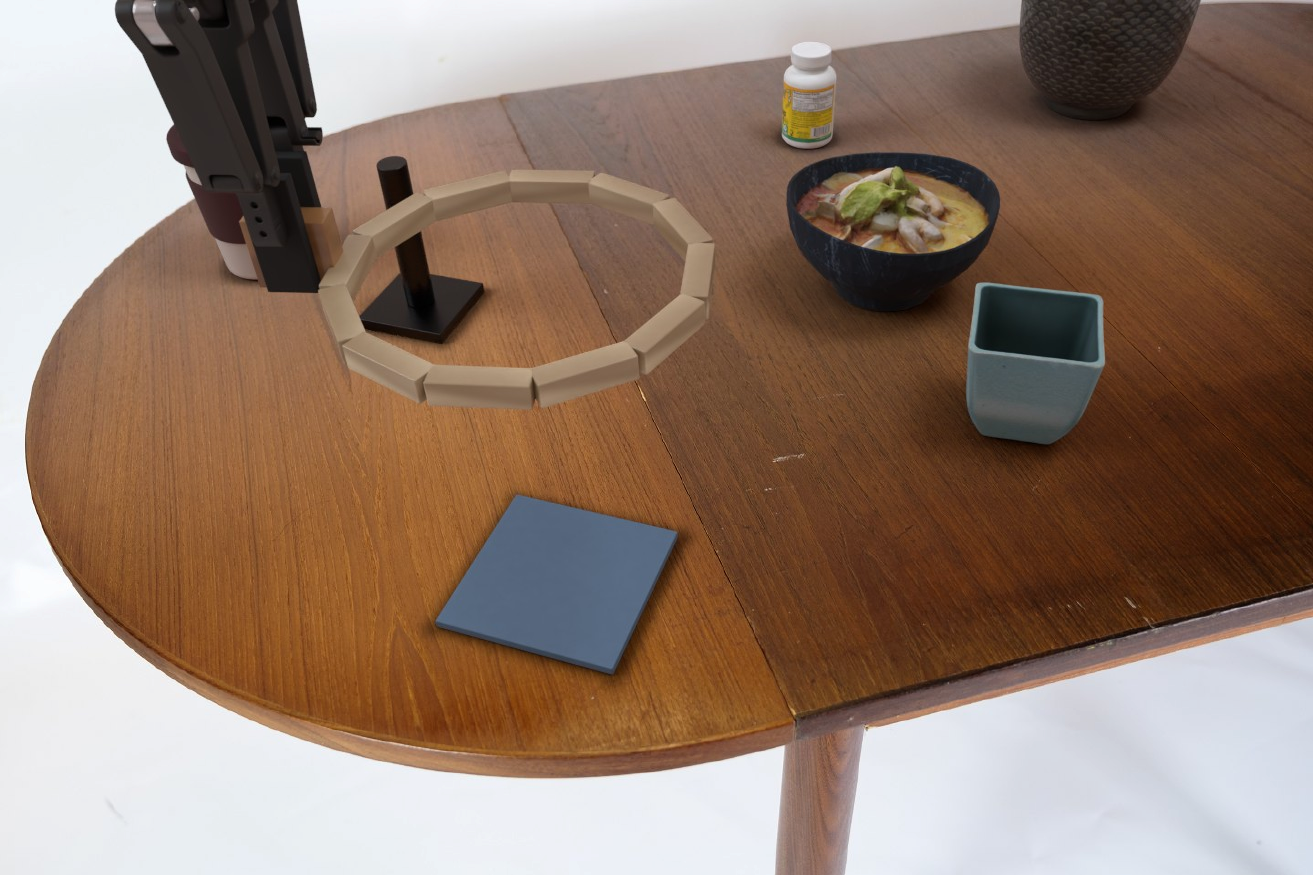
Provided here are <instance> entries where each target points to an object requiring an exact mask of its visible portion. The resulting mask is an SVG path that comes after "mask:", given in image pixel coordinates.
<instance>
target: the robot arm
mask: <svg viewBox="0 0 1313 875" xmlns="http://www.w3.org/2000/svg"><path fill="white" fill-rule="evenodd" d="M114 5H115V6H114V16H115V19H116V22H117V23H118V25H119V27H120V29H121V30H122V31H123V32H124V33H125V35H126V36H127V37H128V39H129V40H130V41H131V42H132V44H133V45H134V46H135V47H136V49H137V50H138V51H139V52H140V53H141V55H142V58H143V59H144V61H145V64H146V66H147V69H148V70H149V72H150V75H151V77H152V79H153V82H154V84H155V86H156V88H157V90H158V92H159V95H160V97H161V99H162V101H163V103H164V106H165V107H166V110H167V112H168V114H169V116H170V119H171V121H172V123H173V125H175V127H176V130H177V132H178V134H179V136H180V138H181V140H182V143H183V145H184V147H185V149H186V151H187V154H188V156H189V158H190V160H191V162H192V164H193V167H194V169H195V171H196V173H197V175H198V178H199V180H200V182H201V184H202V186H203V188H204V190H205V191H206V192H208V193H236V195H237V197H238V200H239V203H240V207H241V210H242V213H243V216H244V219H245V222H246V225H247V228H248V231H249V234H250V237H251V240H252V244H253V247H254V250H255V253H256V256H257V259H258V262H259V265H260V268H261V271H262V274H263V278H264V281H265V284H266V287H265V288H266V290H267V292H268V293H290V294H291V293H292V294H296V293H297V294H319V293H318V290H319V289H320V288H319V284H320V282H321V279H320V276H319V272H318V269H317V265H316V262H315V258H314V255H313V251H312V248H311V244H310V241H309V237H308V234H307V230H306V227H305V222H304V218H303V215H302V211H301V208H300V207H322V204H321V199H320V197H319V193H318V189H317V185H316V182H315V179H314V178H315V177H314V175H313V171H312V167H311V163H310V160H309V155H308V153H307V150H305V149H304V147H320V146H321V145H322V143H323V138H324V132H323V127H322V126H320V127H319V126H308V125H307V121H306V118H315V117H316V116H317V115H316V114H317V111H318V107H317V99H316V94H315V88H314V85H313V84H314V83H313V79H312V78H313V77H312V73H311V68H310V62H309V56H308V50H307V45H306V40H305V35H304V30H303V24H302V19H301V14H300V13H301V12H300V9H299V3H298V0H116V1H115V3H114Z"/></svg>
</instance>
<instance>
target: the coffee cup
mask: <svg viewBox="0 0 1313 875" xmlns="http://www.w3.org/2000/svg"><path fill="white" fill-rule="evenodd" d="M165 139H166V144H167V146H168V150H169V152H170V155H171V157H172V159H173V160H175V162H177V163H178V164H180V165H182V166H183V167H184V170H185V178H186V181H187V184H188V185H189V188H190V190H191V193H192V195H193V197H194V199H195V203H196V204H197V206H198V209H199V211H200V213H201V216H202V218H203V220H204V222H205V225H206V227H207V230H208V231H209V233H210V235H211V236H212V237H213V238H214V239H215V242H216V244H217V246H218V249H219V251H220V253H221V256H222V259H223V260H224V262H225V265H226V267H227V269H228V270H229V272H230V273H232V274H233V275H235V276H236V277H239V278H242V279H246V280H258V279H257V275H256V272H255V269H254V266H253V263H252V260H251V257H250V254H249V251H248V248H247V245H246V242H245V239H244V235H243V232H242V229H241V226H240V223H239V221H240V220H241V218H242V217H243V213H242V210H241V207H240V203H239V200H238V197H237V195H236V193H208V192H206V191H205V190H204V188H203V186H202V184H201V182H200V180H199V178H198V175H197V173H196V171H195V169H194V167H193V164H192V162H191V160H190V158H189V156H188V154H187V151H186V149H185V147H184V145H183V143H182V140H181V138H180V136H179V134H178V132H177V130H176V127H175V125H174V124H172V126H170V128H169V130H168V131H167V134H166V138H165Z"/></svg>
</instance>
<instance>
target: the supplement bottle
mask: <svg viewBox="0 0 1313 875" xmlns="http://www.w3.org/2000/svg"><path fill="white" fill-rule="evenodd" d="M832 51H833V50H832V48H831V46H829V45H828V44H826V43H823V42H819V41H803V42H799V43H796V44H794V45H793V46H792V47H791V52H790V62H791V65H790V66H788V67H787V68H786V70H785V72H784V74H783V85H782V86H783V87H782V88H783V90H782V115H781V137H782V139H783V140H784V141H785V143H787V144H788V145H789V146H792V147H794V148H798V149H804V150H805V149H807V150H810V149H817V148H821V147H824V146H826V145H828V144H829V143H830V142H831V140H832V139H833V134H834V121H835V120H834V119H835V108H836V106H835V105H836V92H837V73H836V71H835V69H834V68H833V67H832V66H831V65H830V64H831V63H832Z"/></svg>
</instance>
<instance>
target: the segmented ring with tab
mask: <svg viewBox="0 0 1313 875" xmlns="http://www.w3.org/2000/svg"><path fill="white" fill-rule="evenodd" d="M422 192H423V194H422V193H420V192H415V193H414V194H413V195H411V196H410V197H408V198H406V199H405V200H403V201H401V202H400V203H398V204H396V205H395V206H393V207H391V208H389V209H388V210H386V209H385V211H383V212H381V213H379V214H377V215H375V216H374V217H373V218H371V219H369V220H368V221H366V222H364V223H363V224H361V225H359V226H358V227H356V228H354V229H352V234H348V235H347V236H346V238H345V239H344V241H343V242H342V239H341V236H340V232H339V229H338V224H337V222H336V221H337V220H336V217H335V214H334V209H333V207H325V206H324V207H322V206H321V207H300V208H301V211H302V215H303V218H304V222H305V227H306V230H307V234H308V237H309V241H310V244H311V248H312V251H313V255H314V258H315V262H316V265H317V269H318V272H319V276H320V279H321V282H320V284H319V288H320V289H319V290H318V293H317V294H318V296H319V300H320V303H321V308H322V310H323V313H324V317H325V318H326V321H327V324H328V327H329V329H330V331H331V332H330V333H331V334H332V337H333V340H334V342H335V346H336V347H337V350H338V353H339V356H340V358H341V360H342V363H343V364H344V365H346V366H347V369H348V370H350V371H352V372H354V373H357V374H359V375H361V376H363V377H365V378H367V379H369V380H370V381H373V382H375V383H377V384H379V385H381V386H383V387H385V388H387V389H389V390H391V391H393V392H395V393H397V394H399V395H401V396H402V397H405V398H407V399H409V400H411V401H413V402H415V403H417V404H419V405H422V404H423V403H424V402H425V401H426V402H427V405H428V406H429V407H444V408H445V407H448V408H471V409H472V408H475V409H498V410H499V409H500V410H521V411H532V410H533V408H534V406H535V402H537V404H538V406H539V407H540V408H541V409H545V408H548V407H552V406H555V405H559V404H561V403H566V402H568V401H571V400H574V399H578V398H582V397H585V396H587V395H591V394H595V393H598V392H601V391H604V390H608V389H611V388H615V387H617V386H621V385H624V384H628V383H630V382H635V381H637V380H639V379H640V373H641V374H643V375H645V376H646V375H649V374H650V373H651V372H652V371H653V370H655V368H657V367H658V366H659V365H661V363H662V362H664V360H666V359H667V358H668V357H669V356H670V355H672V354H673V353H674V352H675V351H676V350H677V349H678V348H679V347H680V346H682V345H683V344H684V343H685V342H687V340H689V339H690V338H691V337H692V336H693V335H694V334H696V333H697V332H698V331H699V330H700V329H701V328H703V326H705V324H706V320H709V317H710V309H711V302H712V293H713V285H714V277H715V270H716V244H715V242H714V238H713V237H712V236H711V235H710V234H709V233H708V232H707V231H706V229H704V227H703V226H702V225H701V224H700V223H699V222H698V221H697V219H695V218H694V217H693V216H692V215H691V214H690V213H689V211H688V210H687V209H686V208H685V207H684V206H683V205H682V203H680V202H679V200H678V199H677V198H676V197H670V194H668V193H665V192H662V191H659V190H656V189H653V188H650V187H646V186H643V185H641V184H638V183H636V182H632V181H628V180H627V179H623V178H620V177H617V176H614V175H611V174H608V173H605V172H599V173H598V174H596V172H595V170H570V169H565V170H564V169H510V172H509V175H508V173H507V171H506V170H500V171H496V172H491V173H488V174H484V175H479V176H475V177H471V178H467V179H463V180H459V181H455V182H450V183H446V184H442V185H439V186H434V187H430V188H425V189H423V190H422ZM511 203H519V204H520V203H522V204H524V203H526V204H565V205H566V204H570V205H571V204H572V205H577V204H578V205H592V206H595V207H597V208H602V209H604V210H607V211H610V212H613V213H616V214H619V215H621V216H624V217H627V218H630V219H633V220H636V221H639V222H643V223H645V224H648V225H651V226H653V227H654V228H655V229H656V230H657V231H658V232H659V234H660V235H661V236H662V237H663V238H664V239H665V241H666V242H667V243H668V244H669V245H670V247H672V249H673V250H674V251H675V252H676V253H677V254H678V255H679V257H680V258H681V259H682V260H683V261H684V267H683V273H682V279H681V287H680V291H679V295H678V296H676V297H675V298H674V299H673V300H671V301H670V302H669V303H667V305H665V306H664V307H663V308H662V309H661V310H659V311H658V312H657V313H656V314H655V315H654V316H652V317H651V318H650V319H649V320H647V321H646V322H645V323H644V324H643V325H642V326H640V327H639V328H637V329H636V330H635V331H634V332H633V333H631V335H629V336H628V337H627V338H626V339H624V340H623V341H620V342H616V343H613V344H609V345H606V346H603V347H599V348H595V349H592V350H589V351H585V352H582V353H578V354H575V355H571V356H568V357H565V358H562V359H558V360H554V361H551V362H548V363H545V364H541V365H537V366H534V367H510V366H509V367H506V366H481V365H479V366H478V365H477V366H476V365H454V364H434V363H433V362H430V361H428V360H425V359H424V358H422V357H419V356H417V355H415V354H413V353H411V352H408V351H407V350H404V349H403V348H400V347H398V346H396V345H394V344H392V343H390V342H388V341H385V340H383V339H381V338H379V337H376V336H375V335H373V334H371V333H369V332H366V329H364V327H363V324H362V322H361V319H360V317H359V316H360V314H359V313H358V310H357V308H356V306H355V300H356V298H357V297H358V295H359V293H360V290H361V289H362V287H363V285H364V283H365V281H366V280H367V278H368V276H369V274H370V272H371V270H372V268H373V266H374V264H375V263H376V261H377V259H378V258H381V257H382V256H383V255H385V254H386V253H388V252H390V251H391V250H393V249H395V247H396V246H398V245H399V244H401V243H402V242H404V241H406V240H407V239H409V238H410V237H412V236H414V235H415V234H417V233H418V232H420V231H421V232H422V231H423V230H425V229H426V228H429V227H430V226H432V225H433V224H434V223H436V222H440V221H443V220H448V219H450V218H454V217H459V216H464V215H467V214H471V213H475V212H478V211H483V210H487V209H490V208H491V209H492V208H496V207H499V206H503V205H507V204H511ZM239 223H240V226H241V229H242V232H243V235H244V239H245V242H246V245H247V248H248V251H249V254H250V257H251V260H252V263H253V266H254V269H255V272H256V275H257V279H256V280H257V281H258V284H259V287H260V288H267V287H266V284H265V281H264V278H263V274H262V271H261V268H260V265H259V262H258V259H257V256H256V253H255V250H254V247H253V244H252V240H251V237H250V234H249V231H248V228H247V225H246V222H245V219H244V216H243V217H242V218H241V220H240V221H239Z"/></svg>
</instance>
